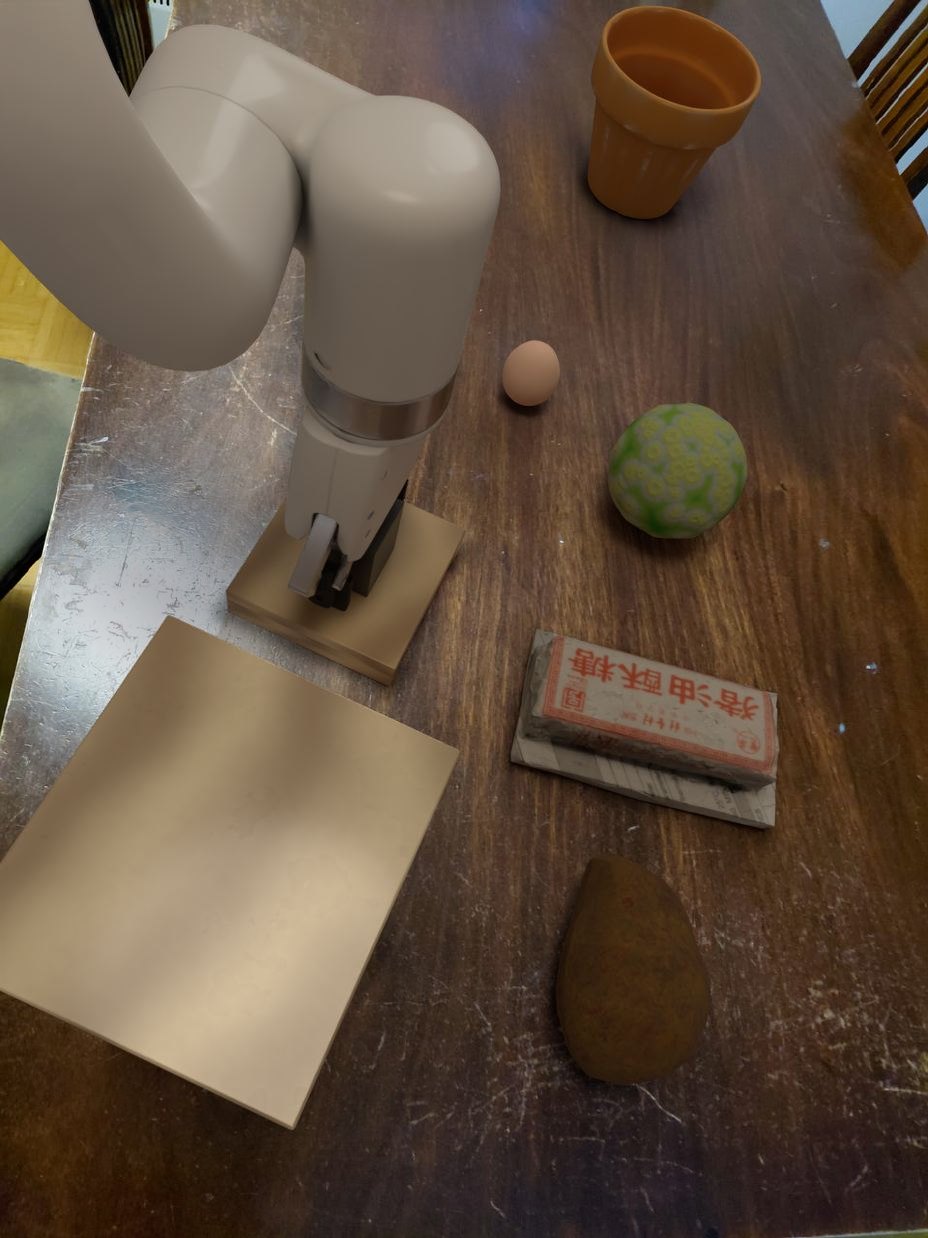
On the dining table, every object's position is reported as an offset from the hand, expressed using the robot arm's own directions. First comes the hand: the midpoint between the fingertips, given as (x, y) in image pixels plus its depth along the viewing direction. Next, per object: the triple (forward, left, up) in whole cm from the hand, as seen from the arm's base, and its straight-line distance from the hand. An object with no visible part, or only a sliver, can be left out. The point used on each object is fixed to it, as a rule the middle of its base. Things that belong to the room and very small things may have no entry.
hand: (352, 550), depth 60 cm
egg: (+5, +22, -4) cm, 23 cm away
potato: (+26, -17, -4) cm, 31 cm away
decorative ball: (+18, +17, -4) cm, 25 cm away
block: (0, 0, -1) cm, 1 cm away
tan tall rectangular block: (+6, -25, -4) cm, 26 cm away
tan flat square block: (0, 0, -4) cm, 4 cm away
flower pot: (+5, +52, -4) cm, 52 cm away
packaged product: (+23, -1, -4) cm, 23 cm away
